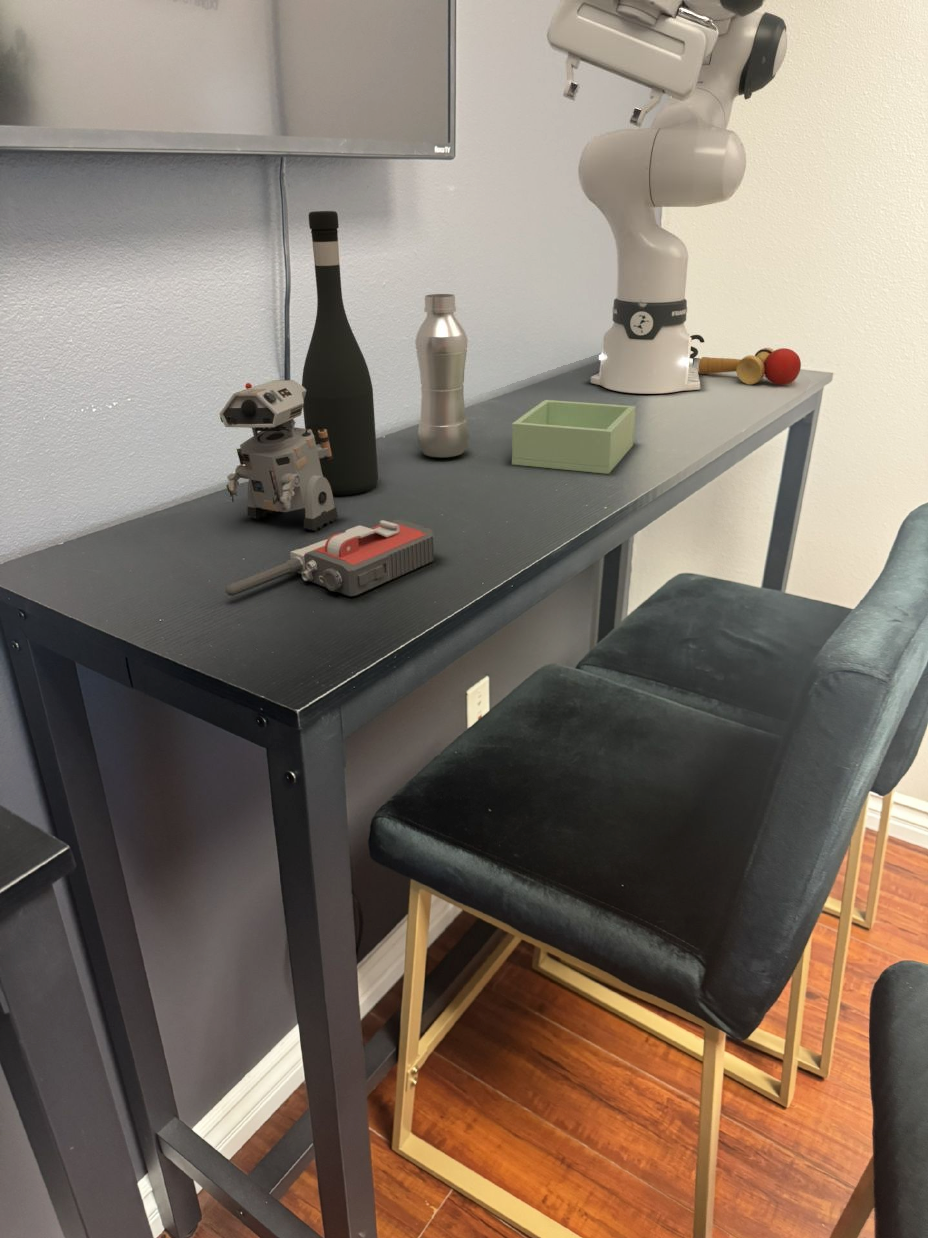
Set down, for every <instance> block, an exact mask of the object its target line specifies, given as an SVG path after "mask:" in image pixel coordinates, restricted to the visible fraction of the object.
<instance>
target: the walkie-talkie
mask: <svg viewBox="0 0 928 1238" xmlns="http://www.w3.org/2000/svg"><path fill="white" fill-rule="evenodd" d="M434 548H435V547H434V531H433V530H432V529H431V528H429V527H426V526H423V525H420V524H416V523H413V522H409V521H406V520H403V519H399V518H395V519H393V520H389V521H387V520H384V519H381V520H380V521H379V524H377V525H374V526H373V527H367V526H363V525H362V524H361V525H360V524H359V525H356V526H353V527H351V528H348V529H346V530H344V532H342V531H340V532H338V533H335V534H333V535H330V536H329V537H328V538H327V539H326V538H325V539H323V540H320V541H317V542H315V543H312V544H310V545H307V546H304V547H302V548H297V549H294V550H291V551H290V552H289V553H290V558H289V559H288V560H285V561H284V562H283V563H282V564H279V565H277V566H274V567H271V568H269V569H266V570H263V571H261V572H258V573H255V574H253V575H250V576H248V577H245V578H242V579H240V580H237V581H235V582H232V583H229V584H228V585H227V586H226V587H225V593H226V595H228V596H231V597H234V596H236V595H239V594H241V593H244V592H246V591H249V590H251V589H252V590H253V589H254V588H257V587H259V586H261V585H264V584H267V583H269V582H271V581H275V580H276V579H279V578H281V577H284V576H286V575H293V574H296V573H298V574H301V578H302V579H303V581H305V582H307V581H309V582H311V583H313V584H315V585H318V586H321V587H323V588H326V589H327V590H329V591H330V592H336V593H338V594H342V595H344V596H347V597H350V598H351V597H357V596H359V595H360V594H361V595H362V594H363V593H365V592H368V591H370V590H372V589H374V588H376V587H378V586H382V585H383V584H385V583H387V582H390V581H392V580H395V579H397V578H399V577H401V576H404V575H405V574H408V573H410V572H412V571H414V570H416V569H418V568H421V567H423V566H425V565H427V564H429V563H431V562H433V561H435V552H434V551H435V549H434Z"/></svg>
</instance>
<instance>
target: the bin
mask: <svg viewBox="0 0 928 1238" xmlns="http://www.w3.org/2000/svg"><path fill="white" fill-rule="evenodd" d="M635 422H636V406H635V405H623V404H607V403H595V402H594V403H593V402H581V401H565V400H554V399H544V400H543V401H541V402H540V403H538V404H537V405H536V406H534V407H533V408H531V409H529V411H527V412H526V413H524V414H523V415H521V416H520V417H519V418H518V419H516V420H515V421H513V422H512V423H511V465H513V466H523V467H534V468H543V469H553V470H554V469H555V470H565V471H573V472H574V471H575V472H585V473H593V474H594V473H595V474H596V473H597V474H604V475H609V474H610V473H611V472H612V471H613V469H615V467H617V465H618V464H619V463H620V462H621V460H622V459H623V458H624V457H625V456H626V454H627V453H628V452H629V451H630V450H631V449H632V448H633V446H634V437H635Z"/></svg>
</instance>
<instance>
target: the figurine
mask: <svg viewBox="0 0 928 1238" xmlns="http://www.w3.org/2000/svg"><path fill="white" fill-rule="evenodd" d="M306 391H307V390H306V389H305V388H304V387H303V386H302V384H300V383H299V382H297V381H295V380H294V379H284V380H283V379H281V380H280V379H278V380H277V379H274V380H273V379H272V380H269V381H268V382H264V383H262V384H257V385H255V386H252V384H251V383H250V382H246V384H245V389H243V390H240V391H236V392H234V393H233V394H232V395H231V396H230V398H229V400H228V401H227V403H225V405H224V406H223V408H222V410H221V411H220V412H219V419H220V421H221V423H222V424H223V425H224V427H225V428H243V429H244V428H246V429H247V428H248V429H251V431H252V434H253V436H252V437H249V438H248V439H247V440H245V441H244V442H242V443H241V444H239V447H240V448H236V453H237V456H238V462H239V465H237V466H236V467H235V470H234V473H230V474H227V476H226V478H227V480H229V481H228V483H227V484H226V485H225V487H226V489H227V492H228V494H229V496H230V497H231V502H232V503H234V502H235V499H234V496H236V497H237V496H238V492H237V488H238V486H239V485H240V482H239V480H240V479H245V480H248V482H247V483H248V484H247V500H248V501H247V502H248V506H247V508H246V509H247V511H246V512H247V517H249V518H251V519H254V520H260V519H261V517H262V518H265V517H266V515H267V514H273V513H274V512H281V513H289V512H293V511H297V510H302V509H304V512H305V513H304V515H305V516H304V517H303V528H305V529H307V531H311V532H317V531H318V530H319V529H322V528H323V527H324V525H327V526H328V525H330V523H334V522H335V520H336V518H338V511H337V507H335V502H334V495H333V494H332V490H331V487H330V484H329V482H328V480H327V479H326V478H325V477H323V475H322V470H321V465H320V461H319V458H323V460H325V461H328V460H331V459H333V455H332V454H331V449H330V444H329V437H328V434H327V430H326V429H322V427H321V426H320V425H318V424H311V425H309V426H308V427H307V429H305V428H301V427H295V426H296V421H295V419H296V418H299V417H301V416H302V413H303V404H304V398H305V394H306ZM314 425H316V426H319V427H320V430H318V435H319V441H320V444H321V445H320V444H318V445H316V442H315V438H314V435H313V433H312V430H310V429H309V428H310V427H311V426H314Z"/></svg>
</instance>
